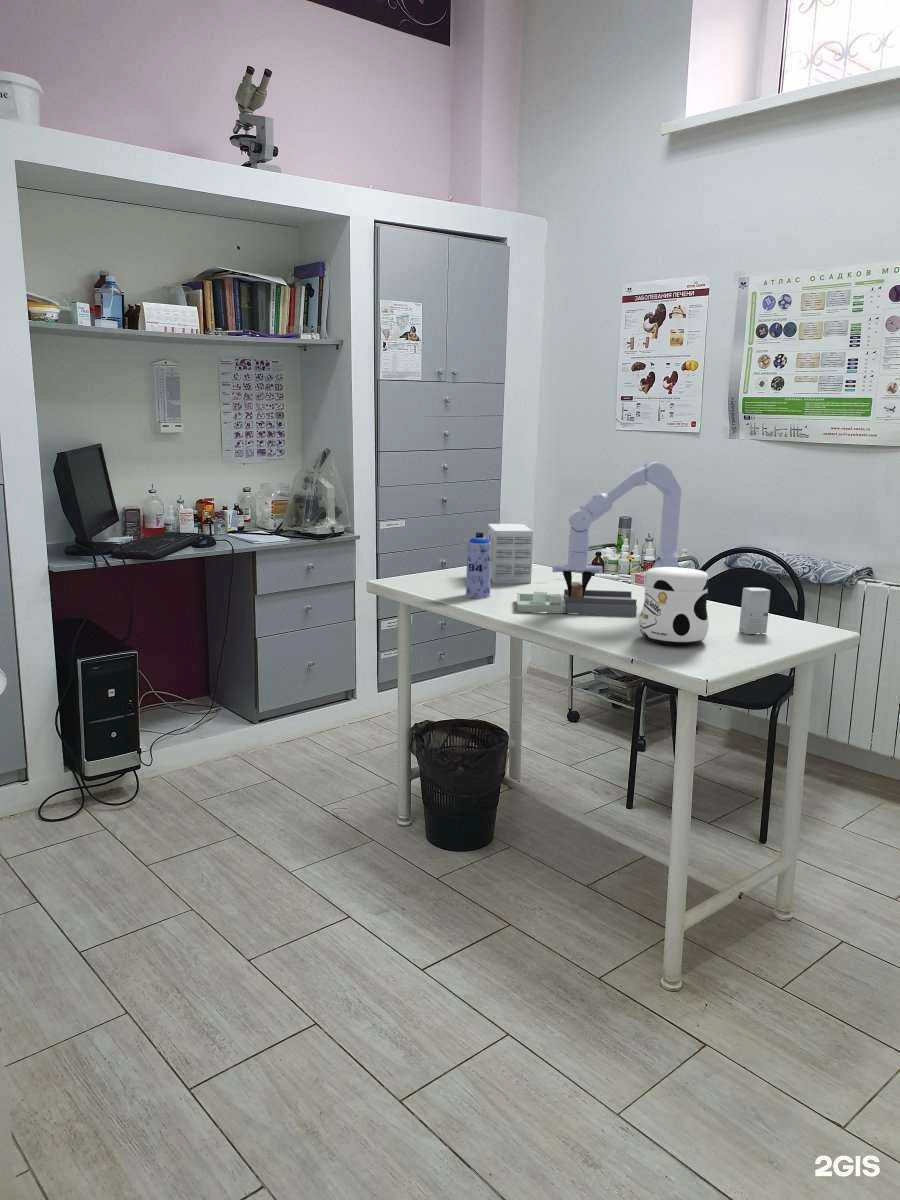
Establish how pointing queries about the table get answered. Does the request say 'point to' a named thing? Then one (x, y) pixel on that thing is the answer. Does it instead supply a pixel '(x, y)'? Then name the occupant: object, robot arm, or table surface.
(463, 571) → the table surface
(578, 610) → the channel board
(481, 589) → the aerosol can
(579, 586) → the bar
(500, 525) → the supplement box
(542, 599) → the grey small block
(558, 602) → the chip near
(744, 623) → the skincare box
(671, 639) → the milk container
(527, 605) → the chip tray
